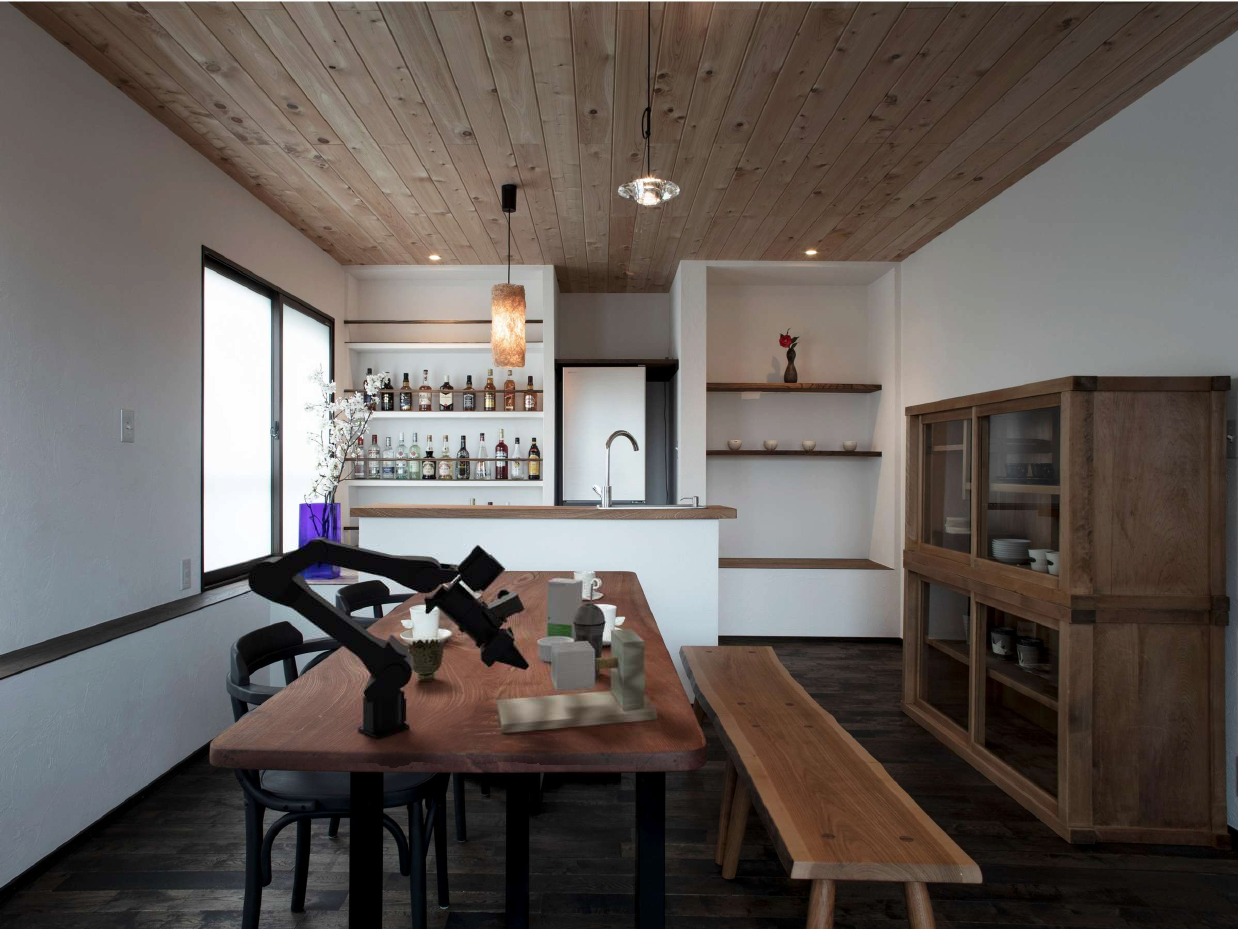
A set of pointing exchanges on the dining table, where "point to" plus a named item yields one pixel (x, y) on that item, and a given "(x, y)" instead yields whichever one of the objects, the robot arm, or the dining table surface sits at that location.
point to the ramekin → (549, 646)
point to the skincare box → (562, 606)
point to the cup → (426, 658)
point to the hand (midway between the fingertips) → (527, 667)
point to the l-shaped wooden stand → (589, 695)
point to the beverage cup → (590, 626)
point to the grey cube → (573, 665)
